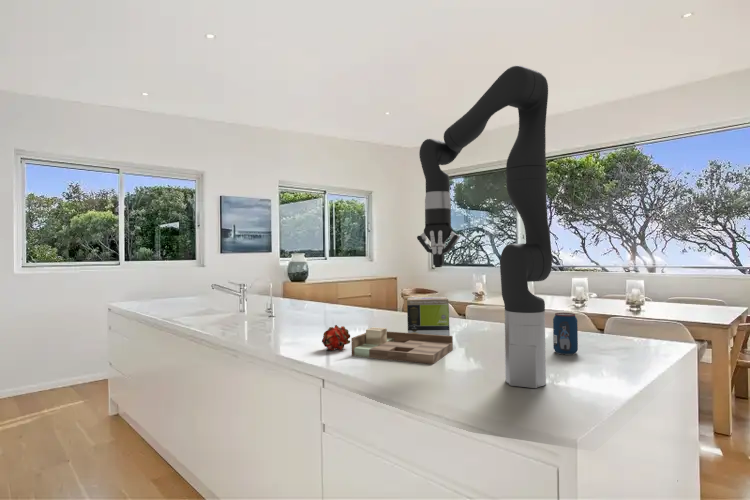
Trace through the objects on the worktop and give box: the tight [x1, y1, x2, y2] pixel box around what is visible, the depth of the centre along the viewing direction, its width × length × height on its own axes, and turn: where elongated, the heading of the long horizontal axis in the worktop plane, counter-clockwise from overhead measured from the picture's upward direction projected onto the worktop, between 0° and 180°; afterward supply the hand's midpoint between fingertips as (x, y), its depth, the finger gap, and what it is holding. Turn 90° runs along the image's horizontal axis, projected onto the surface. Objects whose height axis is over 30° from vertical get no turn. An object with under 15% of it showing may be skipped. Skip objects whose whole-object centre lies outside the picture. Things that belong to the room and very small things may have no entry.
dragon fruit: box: [321, 324, 351, 352], centre depth 151 cm, size 8×8×12 cm
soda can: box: [552, 312, 579, 356], centre depth 142 cm, size 7×7×12 cm
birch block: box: [365, 326, 388, 345], centre depth 148 cm, size 5×5×4 cm
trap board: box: [350, 331, 454, 365], centre depth 145 cm, size 20×26×6 cm
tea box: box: [406, 296, 451, 336], centre depth 169 cm, size 15×10×15 cm, turn 84°
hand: (438, 267), depth 136 cm, fingers closed
